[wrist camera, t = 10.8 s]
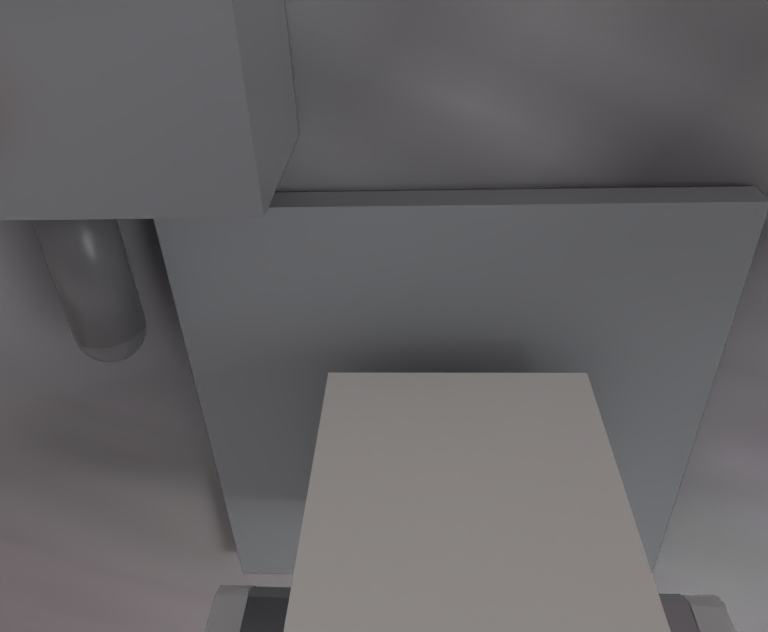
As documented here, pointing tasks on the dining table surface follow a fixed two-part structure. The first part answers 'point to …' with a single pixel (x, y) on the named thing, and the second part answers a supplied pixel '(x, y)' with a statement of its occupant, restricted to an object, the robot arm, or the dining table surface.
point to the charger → (468, 511)
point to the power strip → (136, 134)
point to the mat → (456, 321)
